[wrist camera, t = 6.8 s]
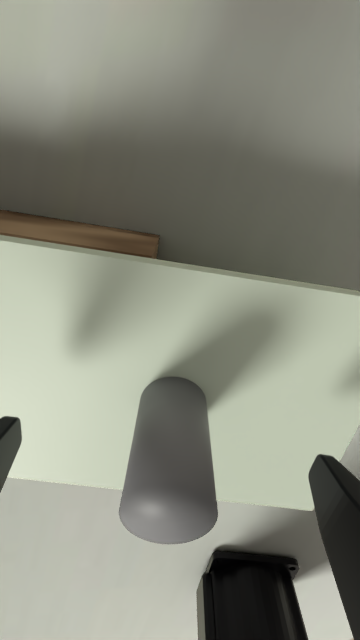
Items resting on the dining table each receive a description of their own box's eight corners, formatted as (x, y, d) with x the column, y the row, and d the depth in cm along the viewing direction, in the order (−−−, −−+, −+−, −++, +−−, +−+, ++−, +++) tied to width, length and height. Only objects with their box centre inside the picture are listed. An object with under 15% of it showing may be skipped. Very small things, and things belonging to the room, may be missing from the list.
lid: (410, 298, 10) (575, 388, 6) (307, 498, 14) (359, 632, 10) (-36, 229, 9) (-221, 275, 5) (-3, 463, 13) (-87, 593, 9)
